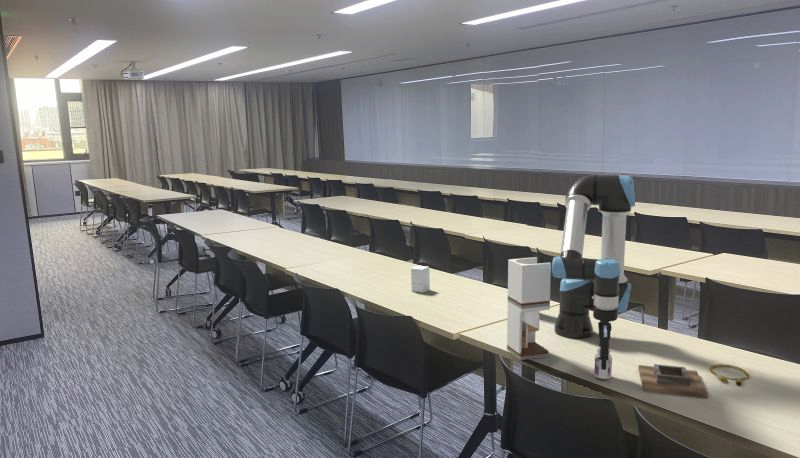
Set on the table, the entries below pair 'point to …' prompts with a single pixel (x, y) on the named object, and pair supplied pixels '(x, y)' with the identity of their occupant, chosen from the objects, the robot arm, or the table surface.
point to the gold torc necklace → (724, 380)
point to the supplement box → (420, 279)
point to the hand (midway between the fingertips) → (602, 373)
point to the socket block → (671, 381)
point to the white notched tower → (526, 305)
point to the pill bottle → (596, 370)
